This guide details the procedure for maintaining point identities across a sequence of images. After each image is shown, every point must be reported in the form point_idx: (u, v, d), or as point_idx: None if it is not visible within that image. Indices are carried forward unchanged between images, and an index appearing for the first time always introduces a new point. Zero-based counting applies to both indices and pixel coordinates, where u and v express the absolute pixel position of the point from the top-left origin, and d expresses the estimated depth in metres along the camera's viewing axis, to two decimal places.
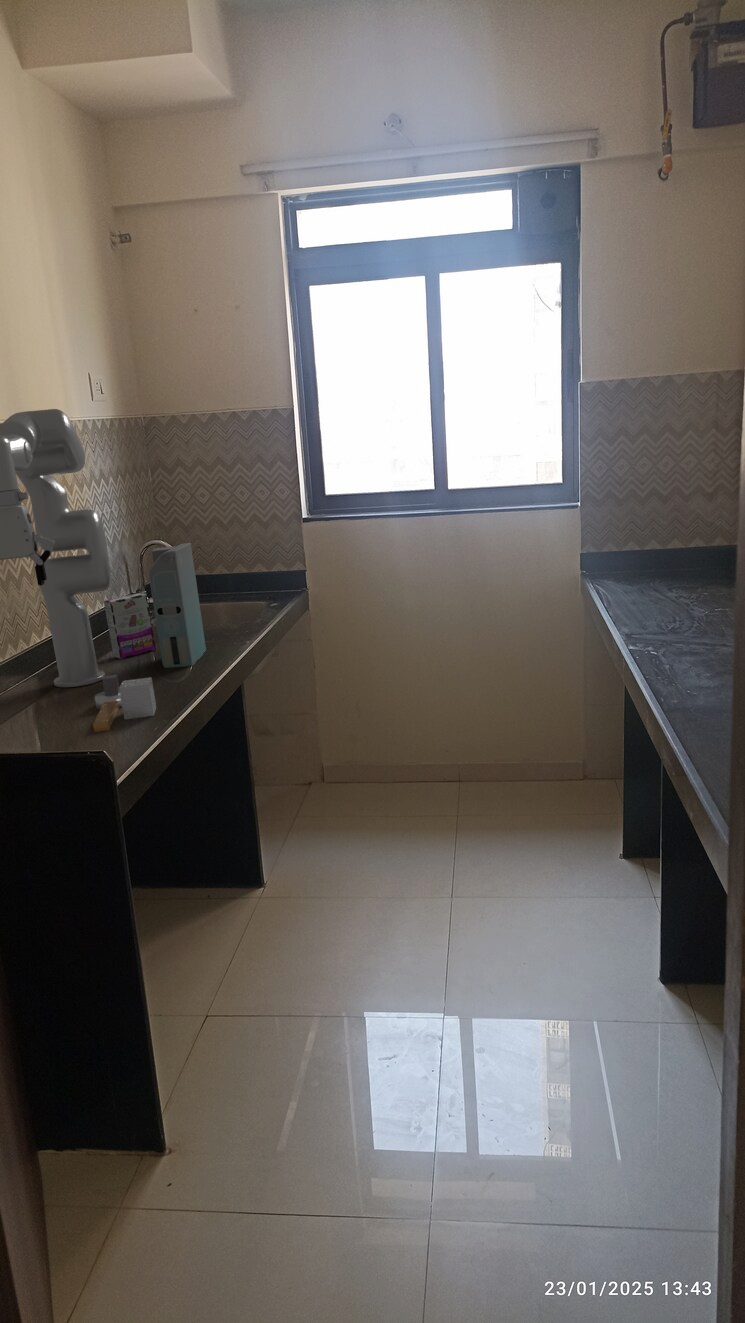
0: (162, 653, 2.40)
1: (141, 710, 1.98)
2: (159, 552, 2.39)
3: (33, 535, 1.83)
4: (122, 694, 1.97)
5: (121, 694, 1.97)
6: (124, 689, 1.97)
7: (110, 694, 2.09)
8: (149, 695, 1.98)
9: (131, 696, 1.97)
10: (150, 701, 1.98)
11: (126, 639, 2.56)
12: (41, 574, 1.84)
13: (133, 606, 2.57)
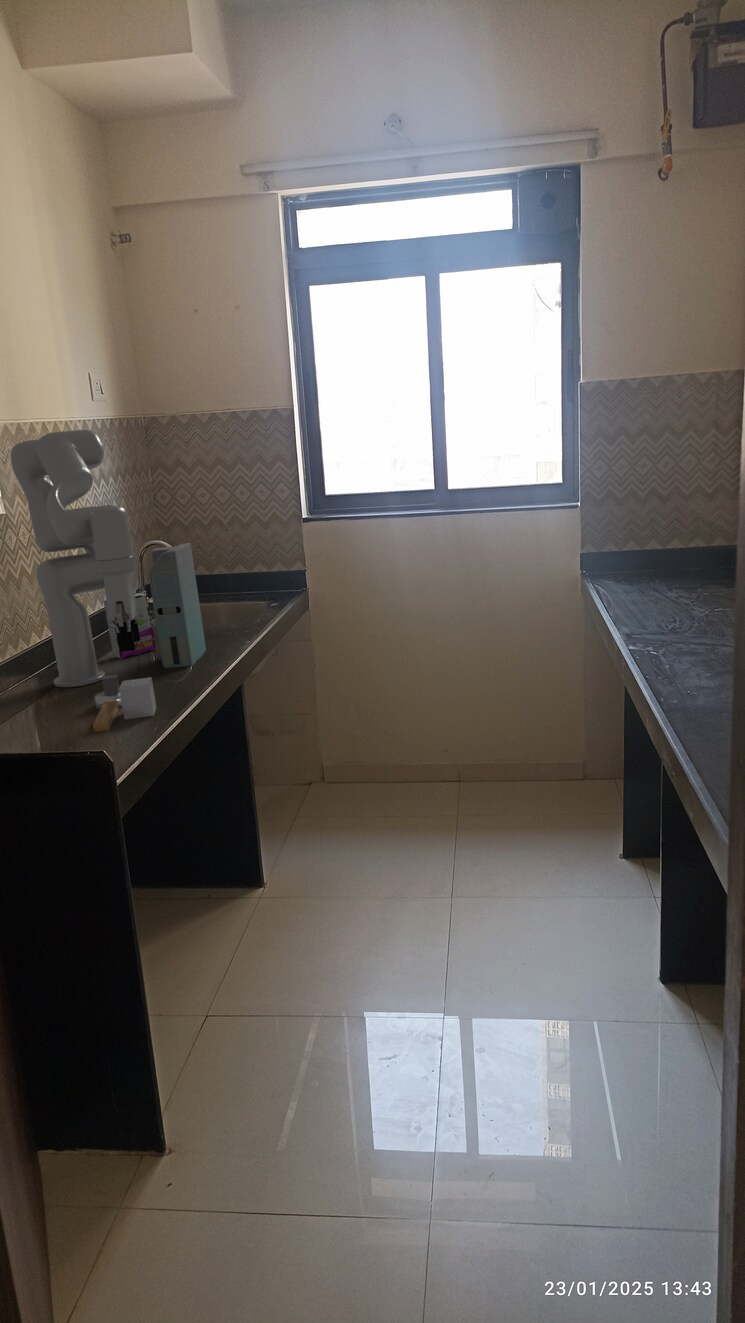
0: (162, 653, 2.40)
1: (141, 710, 1.98)
2: (159, 552, 2.39)
3: None
4: (122, 694, 1.97)
5: (121, 694, 1.97)
6: (124, 689, 1.97)
7: (110, 694, 2.09)
8: (149, 695, 1.98)
9: (131, 696, 1.97)
10: (150, 701, 1.98)
11: None
12: None
13: None
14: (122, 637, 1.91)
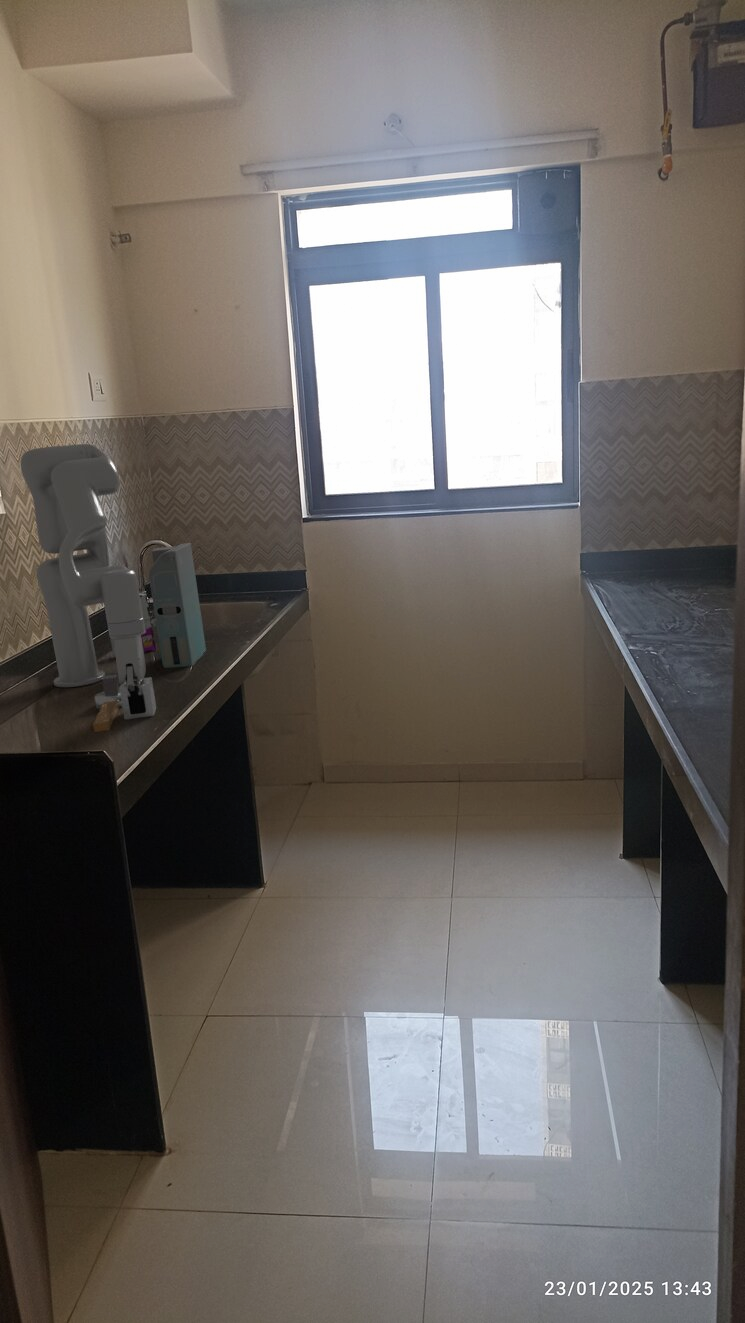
0: (162, 653, 2.40)
1: None
2: (159, 552, 2.39)
3: None
4: (122, 694, 1.97)
5: (121, 694, 1.97)
6: (124, 689, 1.97)
7: (110, 694, 2.09)
8: (149, 695, 1.98)
9: None
10: (150, 701, 1.98)
11: None
12: None
13: None
14: (133, 700, 1.96)
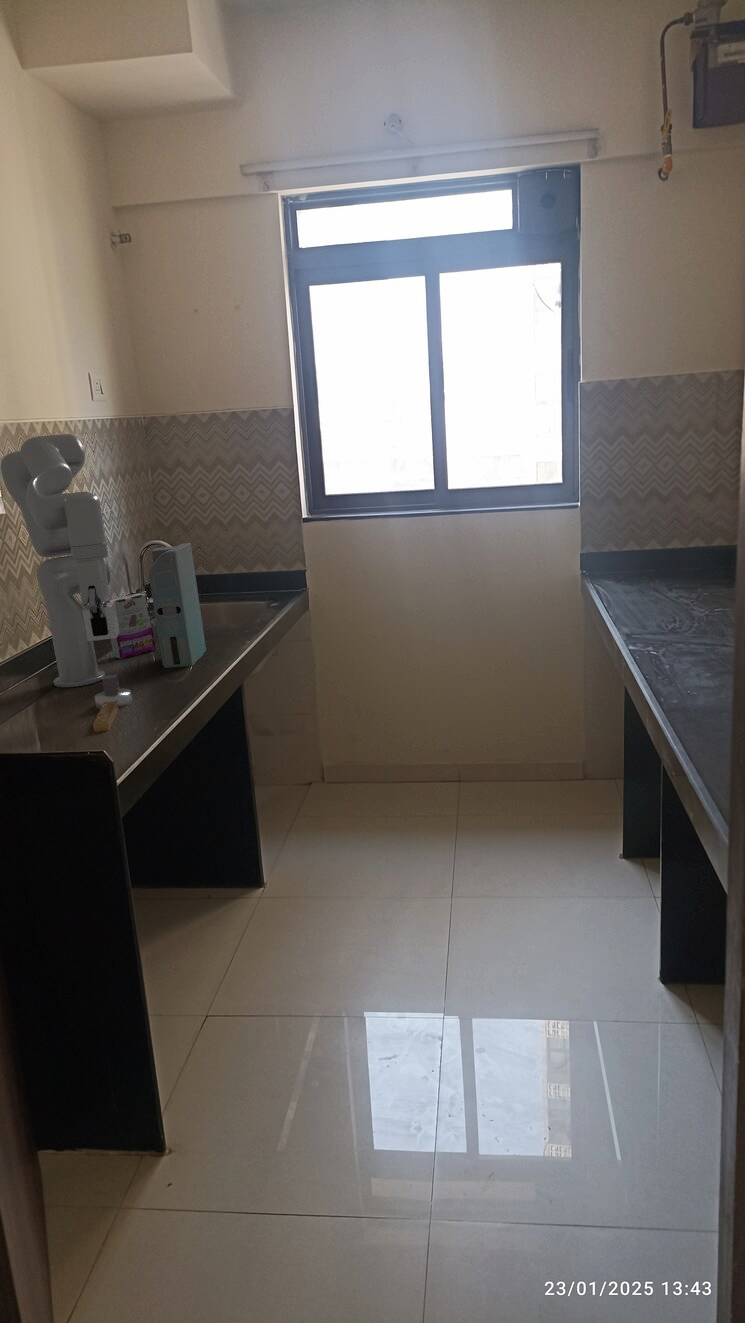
0: (162, 653, 2.40)
1: None
2: (159, 552, 2.39)
3: None
4: (85, 616, 2.03)
5: (84, 616, 2.03)
6: (87, 611, 2.02)
7: (110, 694, 2.09)
8: (111, 618, 2.03)
9: None
10: (112, 623, 2.04)
11: (126, 639, 2.56)
12: None
13: (133, 606, 2.57)
14: (95, 622, 2.02)
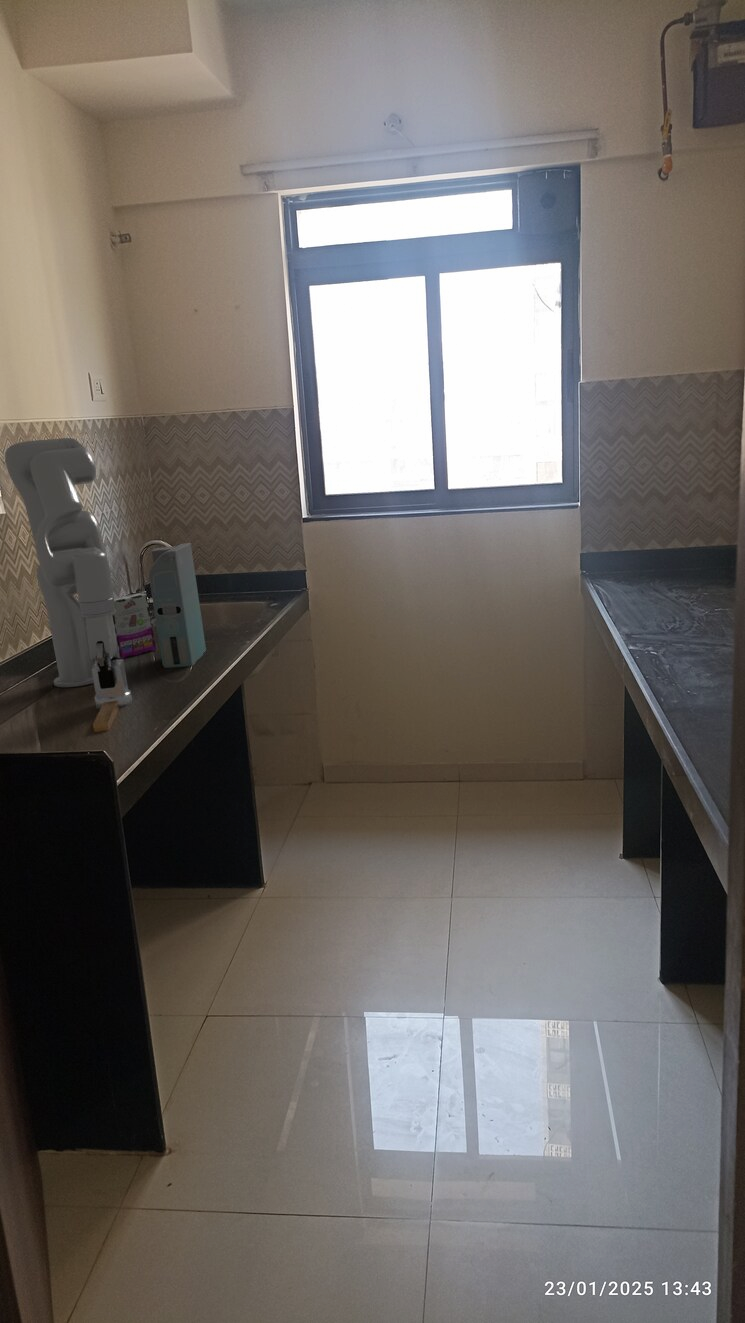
0: (162, 653, 2.40)
1: (112, 690, 2.07)
2: (159, 552, 2.39)
3: None
4: (94, 675, 2.06)
5: (93, 674, 2.06)
6: (96, 670, 2.06)
7: None
8: (120, 676, 2.07)
9: None
10: (121, 681, 2.07)
11: (126, 639, 2.56)
12: None
13: (133, 606, 2.57)
14: (103, 675, 2.04)
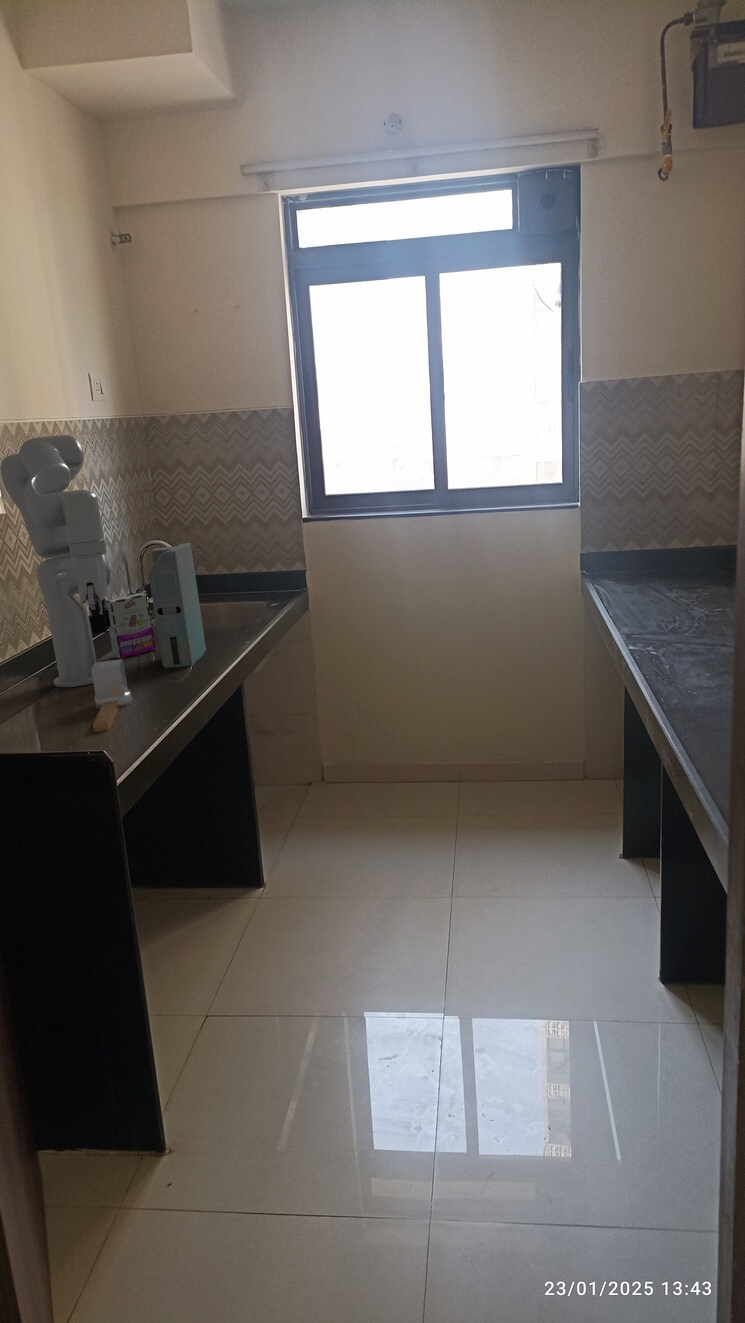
0: (162, 653, 2.40)
1: (112, 690, 2.07)
2: (159, 552, 2.39)
3: None
4: (94, 675, 2.06)
5: (93, 675, 2.06)
6: (96, 670, 2.06)
7: None
8: (120, 676, 2.07)
9: (102, 676, 2.06)
10: (121, 681, 2.07)
11: (126, 639, 2.56)
12: None
13: (133, 606, 2.57)
14: (94, 620, 2.03)
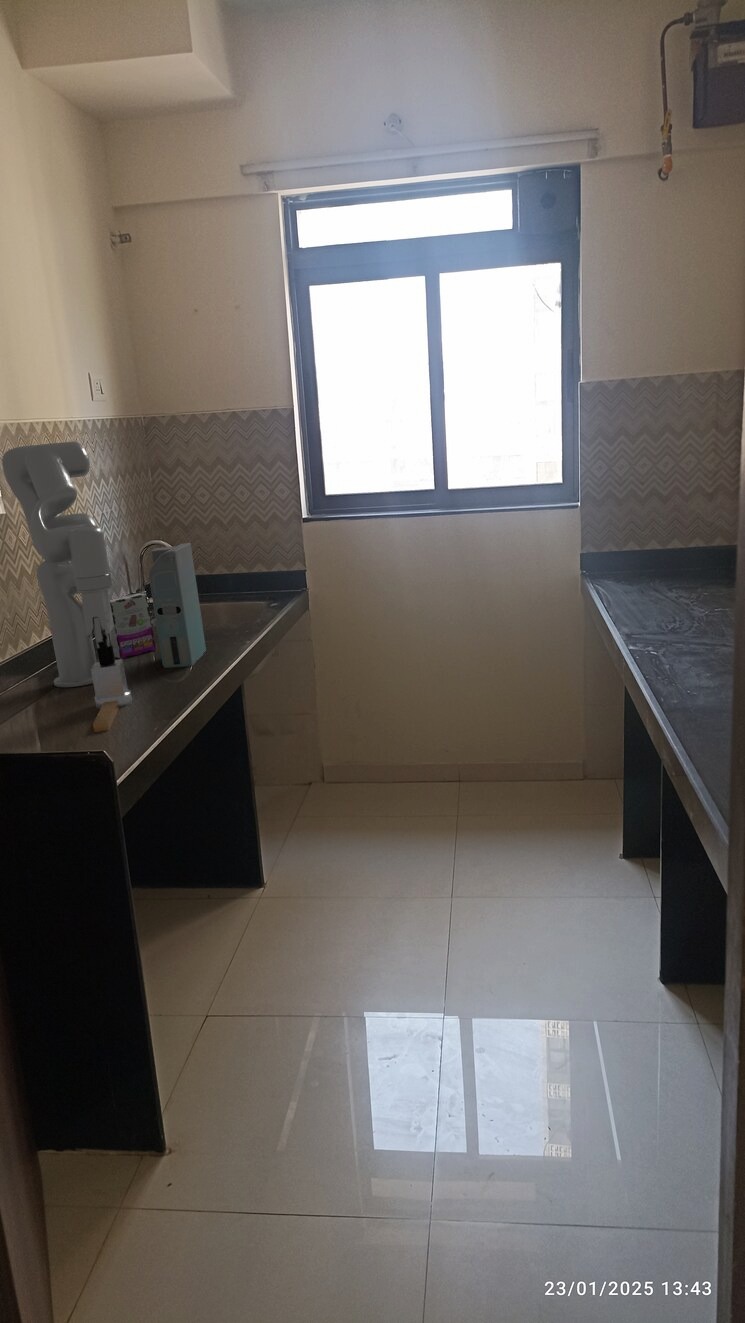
0: (162, 653, 2.40)
1: (112, 690, 2.07)
2: (159, 552, 2.39)
3: None
4: (94, 675, 2.06)
5: (93, 675, 2.06)
6: (95, 670, 2.06)
7: None
8: (119, 676, 2.07)
9: (102, 676, 2.06)
10: (120, 681, 2.07)
11: (126, 639, 2.56)
12: None
13: (133, 606, 2.57)
14: (102, 652, 2.07)
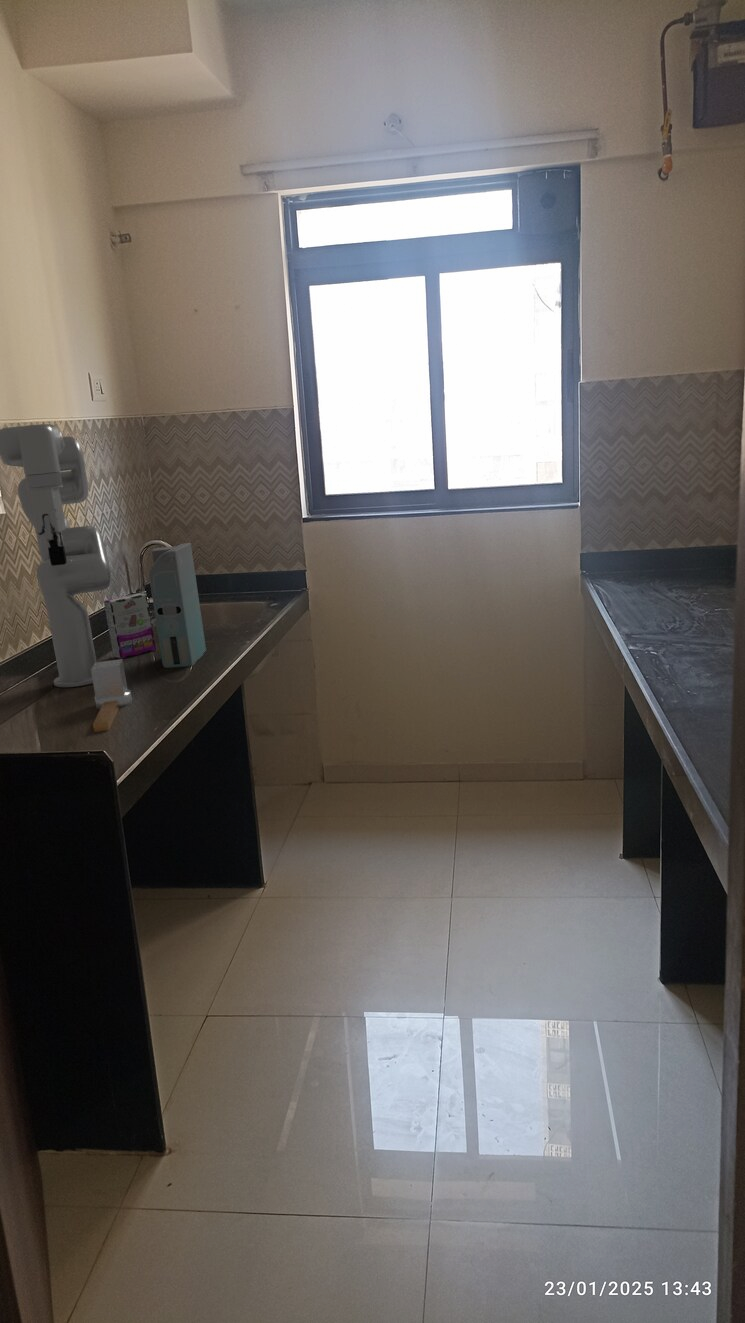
0: (162, 653, 2.40)
1: (112, 690, 2.07)
2: (159, 552, 2.39)
3: None
4: (94, 675, 2.06)
5: (92, 675, 2.06)
6: (95, 670, 2.06)
7: None
8: (119, 676, 2.07)
9: (102, 676, 2.06)
10: (120, 681, 2.07)
11: (126, 639, 2.56)
12: None
13: (133, 606, 2.57)
14: (53, 551, 2.07)
